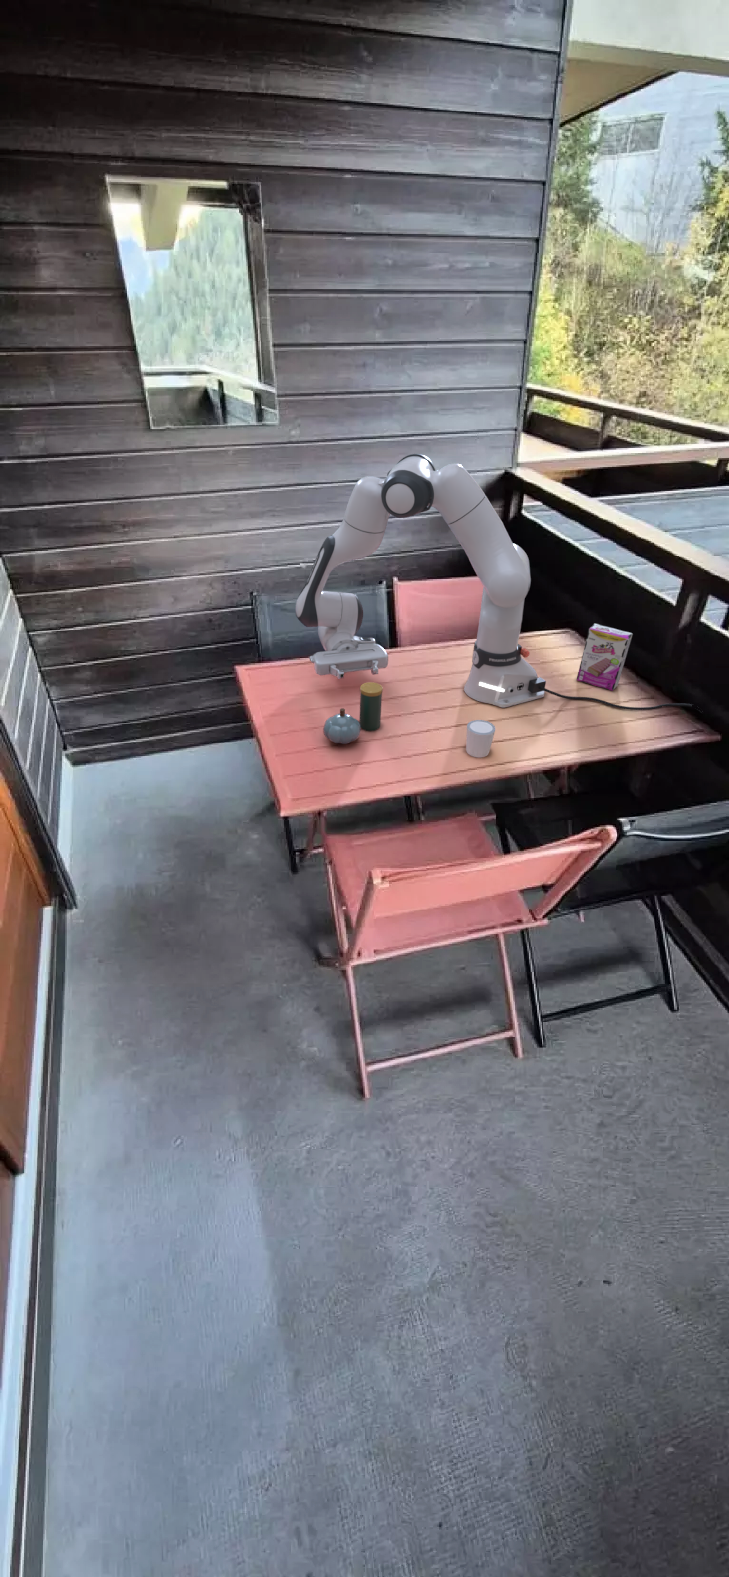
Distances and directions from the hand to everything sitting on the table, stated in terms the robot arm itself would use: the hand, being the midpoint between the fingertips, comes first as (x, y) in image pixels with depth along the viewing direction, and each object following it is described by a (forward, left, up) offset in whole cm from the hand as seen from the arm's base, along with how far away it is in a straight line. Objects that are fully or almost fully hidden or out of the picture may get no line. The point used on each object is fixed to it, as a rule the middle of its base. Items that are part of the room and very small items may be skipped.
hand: (358, 674), depth 183 cm
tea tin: (0, +11, -9) cm, 14 cm away
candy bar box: (-71, +5, -9) cm, 72 cm away
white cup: (-22, +29, -9) cm, 38 cm away
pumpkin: (+9, +16, -9) cm, 21 cm away
